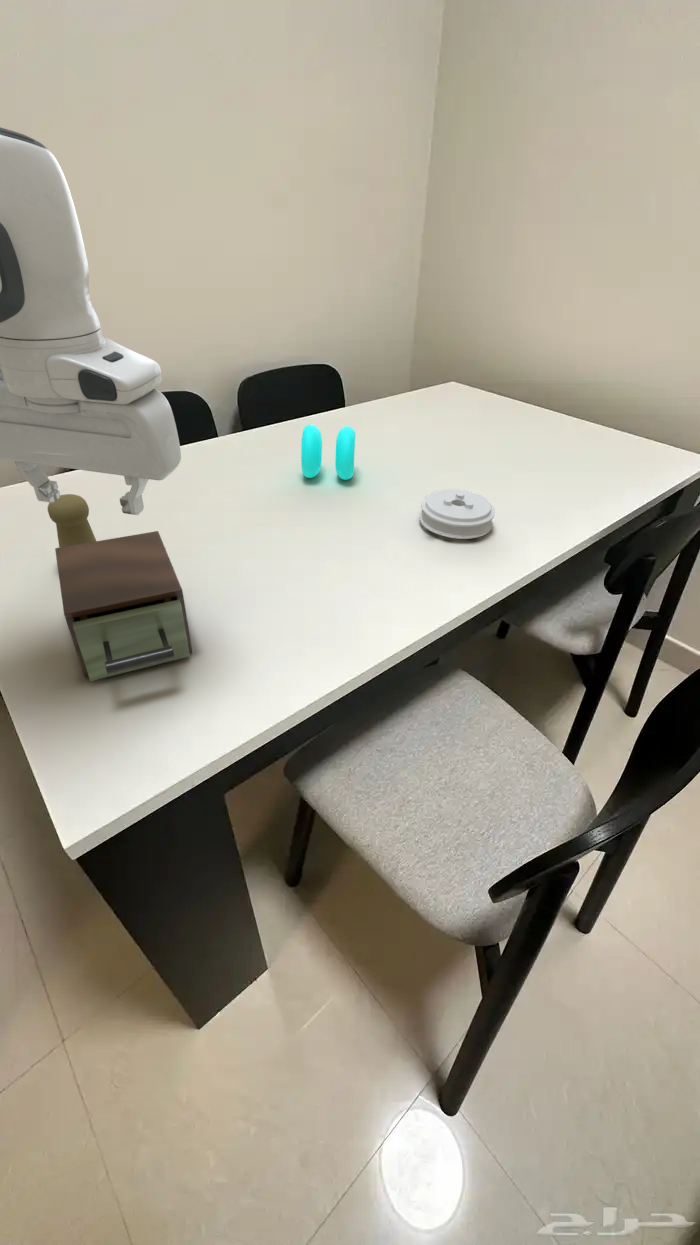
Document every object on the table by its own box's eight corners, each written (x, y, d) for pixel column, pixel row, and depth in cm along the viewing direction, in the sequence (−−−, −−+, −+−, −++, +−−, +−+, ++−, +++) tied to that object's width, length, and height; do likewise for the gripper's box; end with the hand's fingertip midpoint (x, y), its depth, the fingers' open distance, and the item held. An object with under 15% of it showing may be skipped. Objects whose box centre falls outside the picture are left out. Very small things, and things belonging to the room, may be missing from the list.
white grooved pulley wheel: (471, 505, 108) (476, 480, 105) (504, 539, 99) (510, 512, 96) (408, 512, 105) (411, 486, 102) (435, 547, 96) (439, 520, 92)
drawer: (199, 682, 67) (191, 630, 62) (95, 710, 63) (77, 656, 58) (167, 596, 80) (158, 547, 75) (79, 614, 76) (63, 564, 71)
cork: (114, 563, 88) (98, 496, 81) (80, 581, 83) (60, 512, 77) (87, 551, 90) (70, 485, 83) (53, 568, 86) (31, 500, 79)
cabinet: (192, 652, 73) (182, 589, 67) (85, 678, 68) (63, 614, 62) (168, 589, 83) (158, 530, 77) (74, 609, 78) (54, 548, 72)
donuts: (352, 488, 111) (355, 437, 105) (300, 486, 111) (300, 434, 105) (353, 467, 119) (356, 419, 113) (305, 465, 119) (304, 416, 113)
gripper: (-76, 361, 50) (-20, 506, 59) (143, 386, 48) (168, 534, 56) (-25, 344, 55) (20, 480, 64) (177, 366, 53) (195, 505, 61)
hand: (91, 505), depth 60 cm, fingers open, 8 cm apart
